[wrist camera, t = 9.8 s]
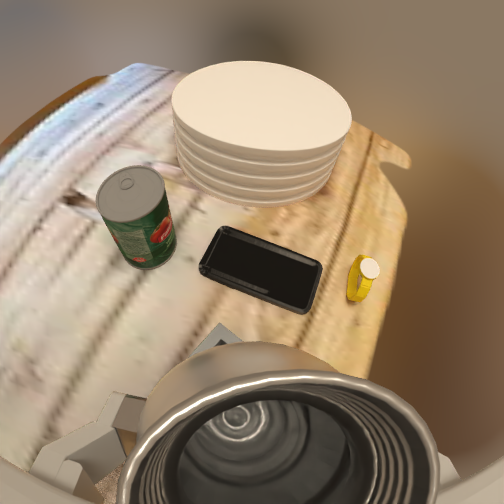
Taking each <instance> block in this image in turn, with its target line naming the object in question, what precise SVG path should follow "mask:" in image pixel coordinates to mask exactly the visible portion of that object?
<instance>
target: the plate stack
mask: <svg viewBox="0 0 504 504" xmlns="http://www.w3.org/2000/svg"><path fill="white" fill-rule="evenodd" d="M172 110H173V122H174V131H175V141H176V148H177V157H178V162H179V165H180V167H181V169H182V171H183V173H184V174H185V175H186V177H187V178H188V179H189V180H190V181H191V182H192V183H193V184H194V185H195V186H197V187H198V188H199V189H201V190H202V191H204V192H206V193H207V194H209V195H211V196H213V197H215V198H218V199H220V200H223V201H226V202H229V203H233V204H237V205H242V206H248V207H261V208H268V207H280V206H286V205H291V204H295V203H298V202H300V201H303V200H305V199H307V198H309V197H311V196H313V195H314V194H316V193H317V192H318V191H319V190H320V189H321V188H322V187H323V186H324V185H325V184H326V182H327V181H328V179H329V177H330V174H331V172H332V169H333V167H334V165H335V162H336V159H337V157H338V155H339V153H340V150H341V147H342V145H343V143H344V141H345V138H346V135H347V133H348V131H349V128H350V126H351V121H352V118H351V117H352V116H351V111H350V109H349V107H348V105H347V103H346V101H345V100H344V99H343V98H342V97H341V95H340V94H339V93H338V92H337V91H336V90H334V89H333V88H332V87H331V86H329V85H328V84H326V83H325V82H323V81H322V80H320V79H318V78H316V77H314V76H312V75H310V74H308V73H306V72H303V71H300V70H298V69H294V68H291V67H288V66H284V65H279V64H274V63H268V62H257V61H235V62H226V63H220V64H216V65H211V66H208V67H205V68H202V69H200V70H197V71H195V72H193V73H191V74H190V75H188V76H187V77H185V78H184V79H183V80H182V81H181V82H180V83H179V84H178V85H177V86H176V88H175V89H174V91H173V94H172Z"/></svg>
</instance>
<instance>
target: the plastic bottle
mask: <svg viewBox="0 0 504 504" xmlns="http://www.w3.org/2000/svg"><path fill="white" fill-rule="evenodd" d="M136 442H137V444H136V445H135V446H134V448H133V449H132V450H131V452H130V453H129V455H128V457H127V459H126V461H125V464H124V466H123V469H122V471H121V474H120V476H119V479H118V485H117V495H116V504H435V503H436V500H437V496H438V492H439V487H440V460H439V455H438V450H437V446H436V442H435V440H434V438H433V436H432V434H431V432H430V430H429V428H428V426H427V424H426V422H425V421H424V420H423V419H422V418H421V416H420V415H419V414H418V413H417V412H416V410H415V409H414V408H413V407H412V406H411V405H410V404H408V403H407V402H406V401H404V400H403V399H402V398H400V397H399V396H398V395H396V394H395V393H394V392H393V391H391V390H388V389H386V388H384V387H382V386H379V385H377V384H375V383H373V382H371V381H369V380H366V379H362V378H358V377H354V376H349V375H345V374H342V373H340V372H338V371H337V370H336V369H335V368H333V367H332V366H331V365H329V364H328V363H326V362H324V361H322V360H320V359H318V358H317V357H315V356H313V355H311V354H309V353H307V352H305V351H302V350H299V349H296V348H292V347H289V346H286V345H283V344H276V343H268V342H261V341H256V342H235V343H230V344H225V345H220V346H215V347H213V348H210V349H207V350H205V351H202V352H199V353H197V354H194V355H193V356H191V357H189V358H188V359H186V360H184V361H183V362H181V363H179V364H178V365H176V366H175V367H174V368H173V369H172V370H170V371H169V372H168V373H167V374H166V375H165V376H164V377H163V378H162V379H161V380H160V381H159V382H158V384H157V385H156V386H155V388H154V389H153V390H152V392H151V393H150V395H149V396H148V398H147V400H146V403H145V405H144V407H143V410H142V412H141V414H140V419H139V425H138V431H137V438H136Z"/></svg>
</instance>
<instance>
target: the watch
mask: <svg viewBox="0 0 504 504" xmlns="http://www.w3.org/2000/svg"><path fill="white" fill-rule="evenodd" d="M379 273H380V268H379V265H378V263H377V262H376V261H375V260H373V259H372V258H371V257H369V256H365V255H359V256H358V257H357V258H356V259H355V260H354V262H353V264H352V266H351V269H350V272H349V275H348V285H347V293H346V295H347V297H348V299H349V300H352V301H356V302H361V301H362V300H363V299H364V298H365V297H366V296H367V294H368V292H369V290H370V287H371V285H372V281H373V280H374V279H376V278H377V277H378V275H379ZM359 274H360V275H361V277H362V280H361V284H360V286H359V288H358V290H357V279H358V276H359ZM356 291H357V292H356Z"/></svg>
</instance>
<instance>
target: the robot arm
mask: <svg viewBox="0 0 504 504" xmlns="http://www.w3.org/2000/svg"><path fill="white" fill-rule="evenodd" d="M146 400H147V399H146V398H141V397H137V396H133V395H128V394H124V393H120V392H116V391H113V392H112V393H111V394H110V396H109V398H108V400H107V402H106V404H105V406H104V408H103V410H102V412H101V414H100V416H99V418H98V420H97V422H91V423H89V424H87V425H85V426H83V427H81V428H79V429H77V430H75V431H74V432H72V433H70V434H68V435H66V436H64V437H62V438H60V439H58V440H56V441H54V442H52V443H50V444H48V445H45V446H43V447H42V449H41V451H40V452H39V454H38V456H37V458H36V460H35V461H34V463H33V465H32V467H31V469H30V471H29V473H27V472H25V471H24V470H22V469H20V468H18V467H17V466H15V465H13V464H12V463H10V462H9V461H7V460H5V459H4V458H2V457H1V456H0V504H103V501H104V498H103V496H102V495H101V493H100V492H99V491H98V489H97V488H96V487H95V484H96V483H98V482H99V481H100V480H102V479H103V478H104V477H105V476H107V475H108V474H109V473H111V472H112V471H113V470H114V469H116V468H117V467H118V466H119V465H121V464H122V463H123V462H124V461H125V460H126V458H127V457H128V455H129V453H130V452H131V450H132V449H133V448H134V446H135V445H136V444H137V442H136V438H137V431H138V425H139V419H140V414H141V412H142V410H143V407H144V405H145V403H146ZM438 455H439V460H440V487H439V492H438V496H437V500H436V503H435V504H504V456H503V457H501V458H500V459H498V460H497V461H495V462H494V463H492V464H490V465H489V466H487V467H485V468H484V469H482V470H480V471H478V472H477V473H475V474H473V475H471V476H469V477H467V478H466V479H464V480H461V479H460V477H459V475H458V473H457V472H456V470H455V468H454V466H453V465H452V463H451V461H450V460H449V458H448V457H446V456H444V455H442V454H440V453H439V452H438Z"/></svg>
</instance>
